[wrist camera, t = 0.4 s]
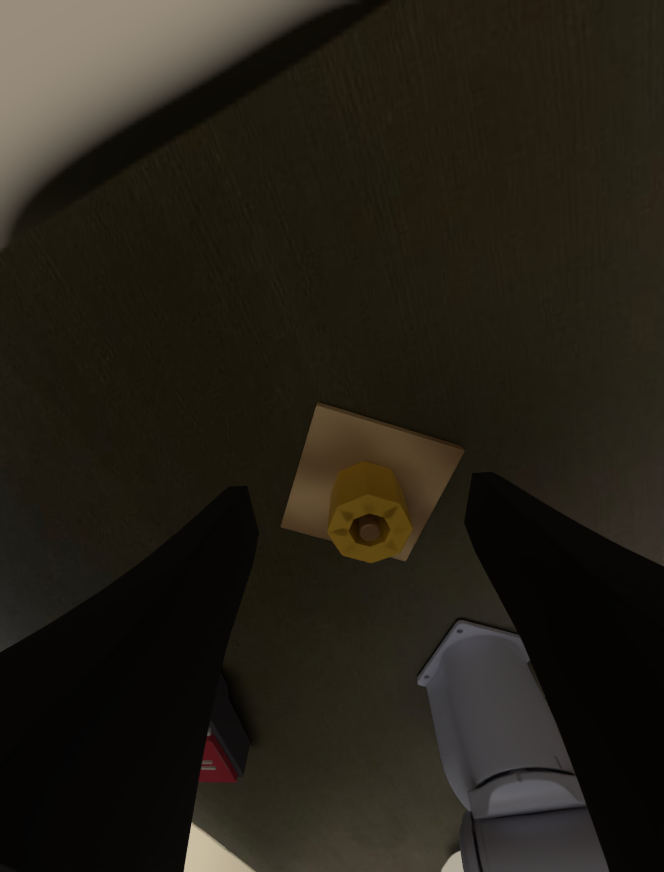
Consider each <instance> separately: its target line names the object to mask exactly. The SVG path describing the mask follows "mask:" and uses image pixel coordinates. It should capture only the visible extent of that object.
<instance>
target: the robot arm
mask: <svg viewBox="0 0 664 872" xmlns="http://www.w3.org/2000/svg"><path fill="white" fill-rule="evenodd" d="M464 523H465V526H466V529H467V531H468V534H469V537H470V540H471V542H472V545H473V547H474V550H475V552H476V554H477V556H478V558H479V560H480V562H481V564H482V566H483V568H484V570H485V571H486V573H487V575H488V577H489V579H490V581H491V583H492V585H493V587H494V588H495V590H496V592H497V594H498V596H499V598H500V600H501V601H502V603H503V605H504V607H505V609H506V611H507V613H508V615H509V616H510V618H511V620H512V622H513V624H514V626H515V628H516V630H517V632H518V634H519V635H518V634H514V633H510V632H506V631H502V630H499V629H495V628H491V627H487V626H484V625H480V624H476V623H472V622H468V621H465V620H458V621H457V622H456V623H455V624H454V626H453V627H452V629H451V630H450V631H449V633H448V634H447V636H446V637H445V639H444V640H443V641H442V643H441V644H440V646H439V647H438V649H437V650H436V651H435V653H434V654H433V656H432V657H431V658H430V660H429V661H428V663H427V664H426V666H425V667H424V668H423V670H422V671H421V673H420V674H419V676H418V677H417V683H418V684H419V685H421V686H425V687H426V688H427V693H428V698H429V703H430V708H431V712H432V717H433V722H434V727H435V732H436V737H437V742H438V747H439V751H440V756H441V761H442V765H443V768H444V772H445V774H446V777H447V779H448V781H449V783H450V785H451V787H452V789H453V791H454V793H455V794H456V796H457V797H458V799H459V800H460V802H461V803H462V804H463V805H464V806H465V807H466V808H467V809H468V810H469V811H466V812H465V813H464V814H463V819H462V824H461V827H460V834H459V837H460V849H461V857H462V863H463V869H464V872H664V567H663V566H661V565H659V564H657V563H655V562H653V561H651V560H649V559H647V558H645V557H643V556H641V555H638V554H636V553H634V552H632V551H630V550H628V549H626V548H624V547H622V546H620V545H618V544H616V543H614V542H612V541H610V540H609V539H607V538H605V537H603V536H601V535H599V534H597V533H596V532H594V531H592V530H590V529H588V528H586V527H585V526H583V525H581V524H579V523H577V522H576V521H574V520H572V519H570V518H569V517H567V516H565V515H564V514H562V513H560V512H558V511H557V510H555V509H553V508H552V507H550V506H548V505H547V504H545V503H543V502H542V501H540V500H538V499H537V498H535V497H534V496H532V495H530V494H529V493H527V492H525V491H524V490H522V489H521V488H519V487H517V486H516V485H514V484H512V483H511V482H509V481H507V480H506V479H504V478H502V477H501V476H499V475H497V474H495V473H493V472H483V473H472V479H471V485H470V491H469V497H468V503H467V509H466V515H465V521H464ZM258 535H259V531H258V527H257V523H256V519H255V515H254V511H253V507H252V503H251V499H250V495H249V492H248V488H247V486H234V487H228V488H227V489H225V490H224V491H223V492H222V493H221V494H220V495H219V496H217V497H216V498H215V499H214V500H213V501H212V502H211V503H210V504H209V505H207V506H206V507H205V508H204V509H203V510H202V511H201V512H200V513H199V514H198V515H196V516H195V517H194V518H193V519H192V520H191V521H190V522H189V523H187V524H186V525H185V526H184V527H183V528H182V529H181V530H180V531H178V532H177V533H176V534H175V535H174V536H172V537H171V538H170V539H169V540H167V541H166V542H165V543H164V544H163V545H161V546H160V547H159V548H158V549H157V550H155V551H154V552H153V553H152V554H150V555H149V556H148V557H147V558H145V559H144V560H143V561H142V562H140V563H139V564H138V565H136V566H135V567H134V568H132V569H131V570H130V571H128V572H127V573H125V574H124V575H123V576H121V577H120V578H118V579H117V580H116V581H114V582H113V583H111V584H110V585H109V586H107V587H106V588H104V589H103V590H101V591H100V592H98V593H97V594H95V595H94V596H92V597H91V598H89V599H87V600H86V601H84V602H83V603H81V604H80V605H78V606H77V607H75V608H73V609H72V610H70V611H69V612H67V613H66V614H64V615H63V616H61V617H59V618H58V619H56V620H55V621H53V622H52V623H50V624H48V625H47V626H45V627H43V628H42V629H40V630H38V631H36V632H35V633H33V634H31V635H30V636H28V637H26V638H25V639H23V640H21V641H19V642H18V643H16V644H14V645H12V646H11V647H9V648H7V649H5V650H4V651H2V652H0V872H184V865H185V859H186V852H187V846H188V840H189V834H190V828H191V823H192V817H193V811H194V805H195V799H196V793H197V787H198V782H199V777H200V771H201V766H202V761H203V755H204V750H205V745H206V739H207V734H208V729H209V724H210V720H211V715H212V710H213V705H214V700H215V696H216V691H217V686H218V682H219V678H220V673H221V669H222V664H223V660H224V656H225V651H226V648H227V644H228V641H229V637H230V634H231V630H232V627H233V624H234V621H235V618H236V615H237V612H238V609H239V606H240V603H241V600H242V597H243V593H244V590H245V587H246V584H247V581H248V578H249V575H250V571H251V568H252V565H253V561H254V556H255V552H256V546H257V540H258ZM529 660H530V661H531V663H532V666H533V668H534V670H535V673H536V675H537V678H538V680H539V682H540V685H541V687H542V690H543V692H544V695H545V697H546V700H547V702H548V705H549V707H550V709H549V707H548V705H547V703H546V701H545V699H544V697H543V695H542V693H541V691H540V689H539V687H538V685H537V683H536V681H535V679H534V677H533V675H532V673H531V671H530V669H529V667H528V665H527V663H528V662H529ZM550 710H551V711H550ZM551 712H552V713H551Z"/></svg>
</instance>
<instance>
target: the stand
mask: <svg viewBox="0 0 664 872" xmlns="http://www.w3.org/2000/svg"><path fill="white" fill-rule="evenodd" d="M464 452H465V450H464V449H463V448H462V446H460V445H457V444H454V443H450V442H447V441H444V440H441V439H437V438H434V437H431V436H427V435H424V434H421V433H418V432H414V431H411V430H408V429H405V428H401V427H398V426H395V425H392V424H388V423H385V422H382V421H378V420H375V419H372V418H369V417H365V416H362V415H359V414H356V413H352V412H349V411H346V410H343V409H339V408H336V407H333V406H330V405H326V404H323V403H320V402H317V405H316V408H315V412H314V415H313V418H312V422H311V425H310V429H309V432H308V435H307V439H306V442H305V446H304V449H303V452H302V456H301V459H300V463H299V466H298V469H297V473H296V476H295V480H294V483H293V486H292V490H291V493H290V496H289V500H288V503H287V507H286V510H285V513H284V517H283V520H282V524H281V527H282V528H286V529H289V530H293V531H297V532H300V533H304V534H307V535H311V536H315V537H318V538H322V539H326V540H329V541H332V539H331V538H330V536H329V535H328V533H327V526H328V516H329V506H330V495H331V491H332V489H333V486H334V483H335V480H336V477H337V475H338V473H339V471H341V470H344V469H346V468H348V467H351V466H353V465H355V464H357V463H360V462H362V461H366V462H369V463H373V464H376V465H380V466H383V467H386V468H390V469H391V470H392V472H393V473H394V475H395V477H396V479H397V481H398V483H399V485H400V487H401V489H402V492H403V495H404V498H405V502H406V505H407V509H408V512H409V515H410V519H411V522H412V526H413V530H412V532H411V534H410V536H409V538H408V540H407V542H406V544H405V545H404V547H403V549H402V551H401V552H400V553H399V554H396V555H394V556H391V558H395V559H399V560H402V561H406V560H407V558H408V556H409V554H410V552H411V550H412V549H413V547H414V545H415V543H416V541H417V539H418V537H419V536H420V534H421V532H422V530H423V528H424V526H425V524H426V523H427V521H428V519H429V517H430V515H431V513H432V511H433V510H434V508H435V506H436V504H437V502H438V500H439V498H440V496H441V495H442V493H443V491H444V489H445V487H446V485H447V483H448V482H449V480H450V478H451V476H452V474H453V472H454V470H455V469H456V467H457V465H458V463H459V461H460V459H461V457H462V455H463V454H464ZM359 534H360V536H361V538H363V539H364V540H366V541H373V540H376V539H377V538H378V537H379V535H380V526H379V519H378V516H377V515H373V514H366V515H364V516H361V517H359Z"/></svg>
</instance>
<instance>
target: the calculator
mask: <svg viewBox="0 0 664 872" xmlns="http://www.w3.org/2000/svg"><path fill="white" fill-rule="evenodd" d="M249 746H250V740H249V738H248V736H247V734H246V732H245V730H244V728H243V726H242V724H241V722H240V720H239V718H238V716H237V714H236V712H235V710H234V708H233V706H232V704H231V702H230V700H229V694H228V686H227V683H226V681H225V679H224V677H223V675H222V673H220V678H219V682H218V686H217V691H216V696H215V700H214V705H213V710H212V715H211V720H210V724H209V729H208V734H207V739H206V745H205V750H204V755H203V761H202V766H201V771H200V777H199V782H232V783H234V782H236V781H237V777H242V776H243V774H244V770H245V765H246V760H247V756H248V751H249Z"/></svg>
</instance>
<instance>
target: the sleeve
mask: <svg viewBox="0 0 664 872" xmlns="http://www.w3.org/2000/svg"><path fill="white" fill-rule="evenodd" d="M366 514H373V515H377V516H378V519H379V526H380V535H379V537H378V538H377V539H376V540H373V541H366V540H364V539H363V538H361V536H360V534H359V517H361V516H364V515H366ZM412 530H413V526H412V522H411V519H410V515H409V512H408V509H407V505H406V502H405V498H404V495H403V492H402V489H401V487H400V485H399V483H398V481H397V479H396V477H395V475H394V473H393V472H392V470H391V469H390V468H386V467H383V466H380V465H376V464H373V463H369V462H366V461H362V462H360V463H357V464H355V465H353V466H351V467H348V468H346V469H344V470H341V471H339V473H338V475H337V477H336V480H335V483H334V486H333V489H332V491H331V495H330V506H329V516H328V526H327V533H328V535H329V536H330V538H331V539H332V541H333V542H334V544H335V545H336V547H337V548H338V550H339V551H340V553H341V554H342V555H343V556H346V557H350V558H354V559H358V560H361V561H365V562H369V563H374V562H377V561H379V560H382V559H385V558H388V557H391V556H394V555H396V554H399V553H400V552H401V551H402V549H403V547H404V545H405V544H406V542H407V540H408V538H409V536H410V534H411V532H412Z"/></svg>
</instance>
